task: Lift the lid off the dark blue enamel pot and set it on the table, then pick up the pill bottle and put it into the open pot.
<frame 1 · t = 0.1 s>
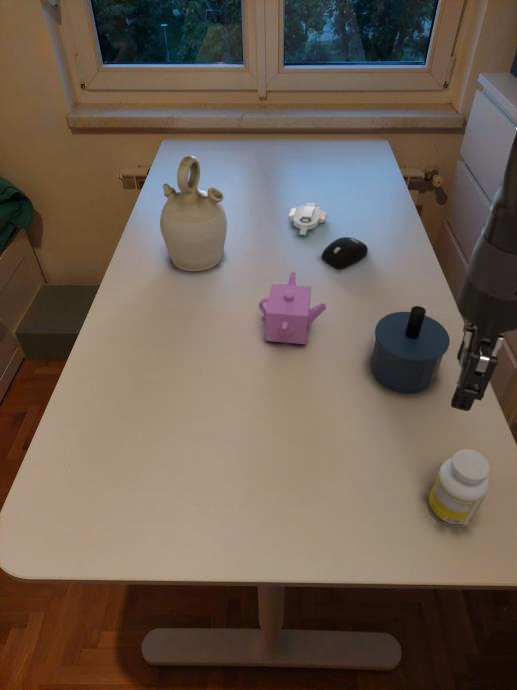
hand: (462, 382, 63), 22 cm above the table, tool pointing down, fingers open, 8 cm apart
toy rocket: (306, 222, 135), on the table
teapot: (291, 332, 103), on the table
lid: (411, 336, 89), point 8 cm above the table, touching pot
jug: (197, 258, 123), on the table
computer mouse: (346, 257, 123), on the table
pot: (402, 370, 94), on the table
pill bottle: (449, 508, 74), on the table
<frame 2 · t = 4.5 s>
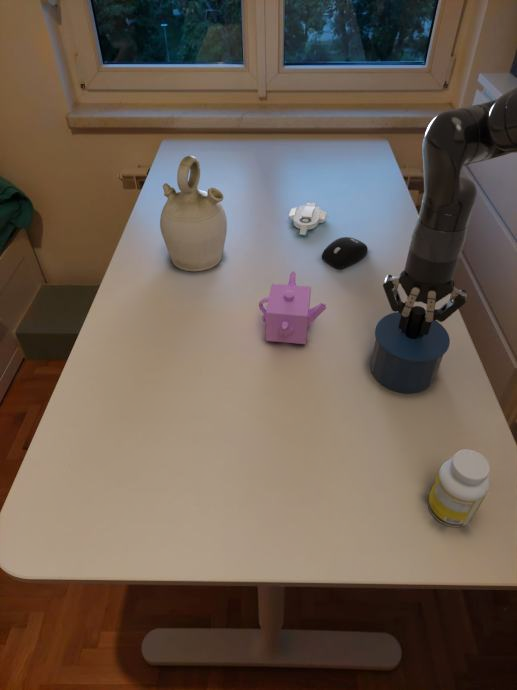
hand: (412, 331, 88), 10 cm above the table, tool pointing down, fingers closed on lid, 2 cm apart
lid: (411, 336, 89), point 8 cm above the table, touching gripper, pot
everything else where it was.
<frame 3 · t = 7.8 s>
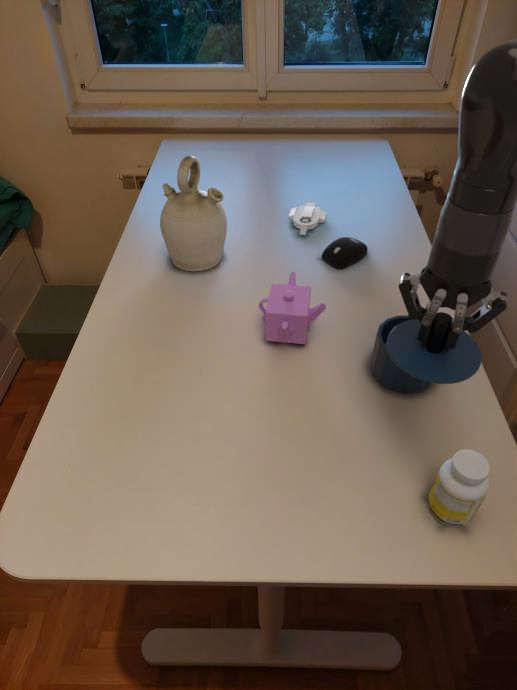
hand: (435, 344, 70), 20 cm above the table, tool pointing down, fingers closed on lid, 2 cm apart
lid: (433, 350, 70), point 19 cm above the table, touching gripper
everything else where it was.
when the fingers open (2 cm above the table, at t = 11.4 s): lid stays where it is, point 1 cm above the table.
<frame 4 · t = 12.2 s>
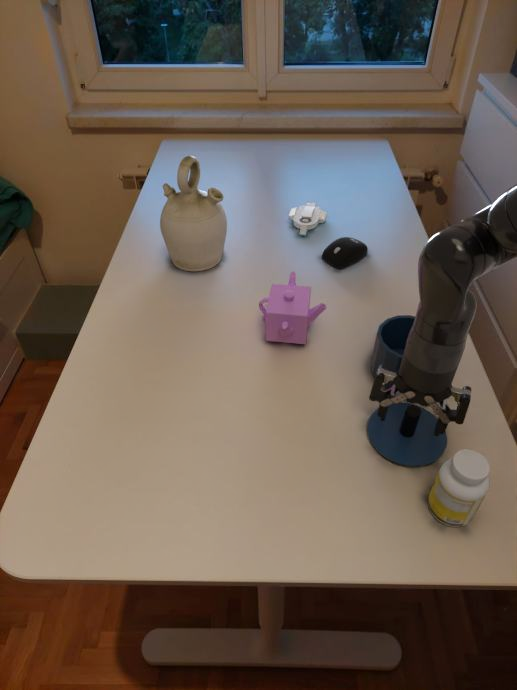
hand: (409, 424, 81), 3 cm above the table, tool pointing down, fingers open, 8 cm apart
lid: (406, 433, 83), point 1 cm above the table
everything else where it was.
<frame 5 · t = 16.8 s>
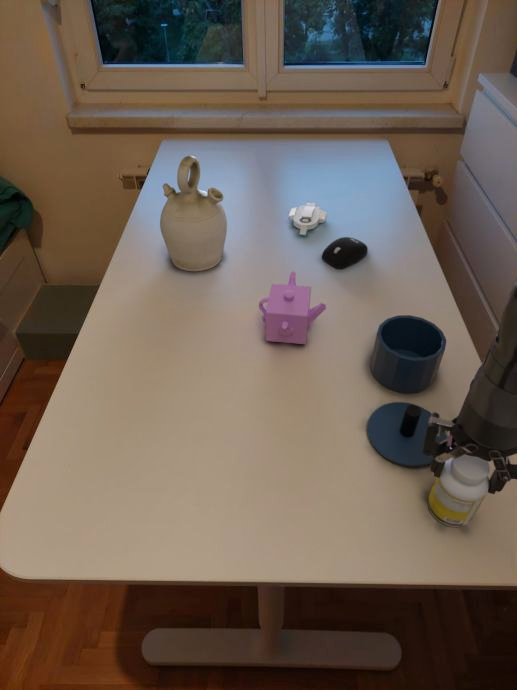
hand: (463, 479, 68), 8 cm above the table, tool pointing down, fingers closed on pill bottle, 6 cm apart
pill bottle: (449, 508, 74), on the table, touching gripper
everything else where it was.
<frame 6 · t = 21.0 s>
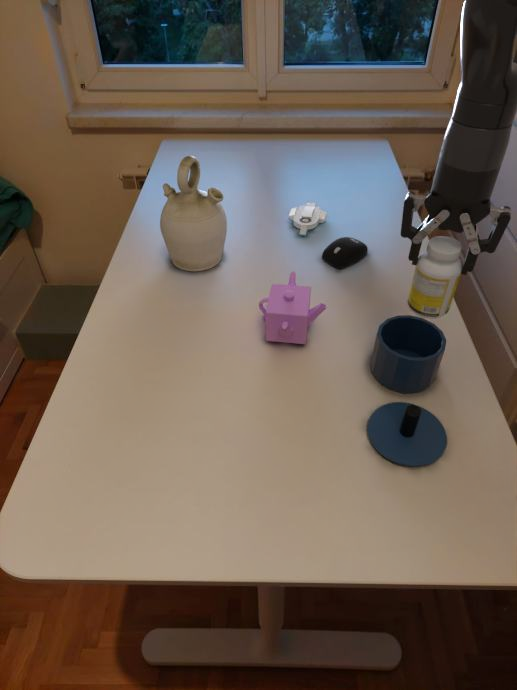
hand: (439, 266, 74), 26 cm above the table, tool pointing down, fingers closed on pill bottle, 6 cm apart
pill bottle: (427, 308, 80), point 18 cm above the table, touching gripper
everything else where it was.
when the fingers open (8 cm above the table, at t = 25.6 s): pill bottle stays where it is, resting on pot.
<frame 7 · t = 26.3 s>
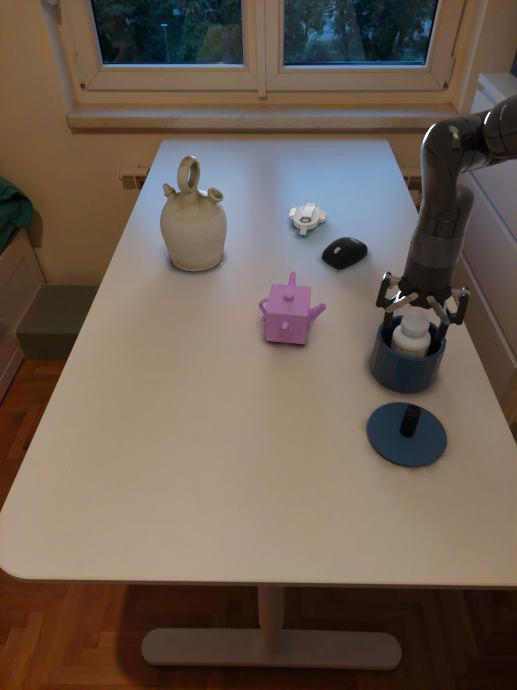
hand: (413, 331, 88), 10 cm above the table, tool pointing down, fingers open, 8 cm apart
pill bottle: (402, 369, 94), resting on pot
everything else where it was.
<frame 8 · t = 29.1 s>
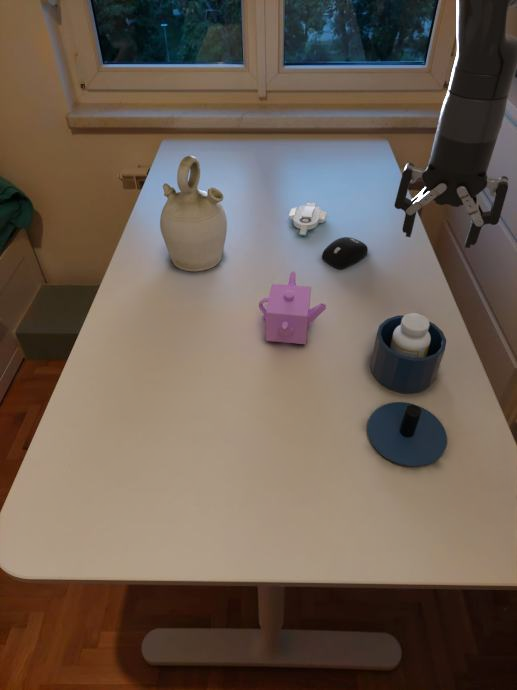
hand: (437, 239, 75), 28 cm above the table, tool pointing down, fingers open, 8 cm apart
nothing on the table moved.
at the end: pill bottle inside the target area in the pot (0.1 cm from its centre), point 0.3 cm above the pot's base; pill bottle tilted 0°; lid inside the target area (0.1 cm from its centre), point 0.6 cm above the table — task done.
